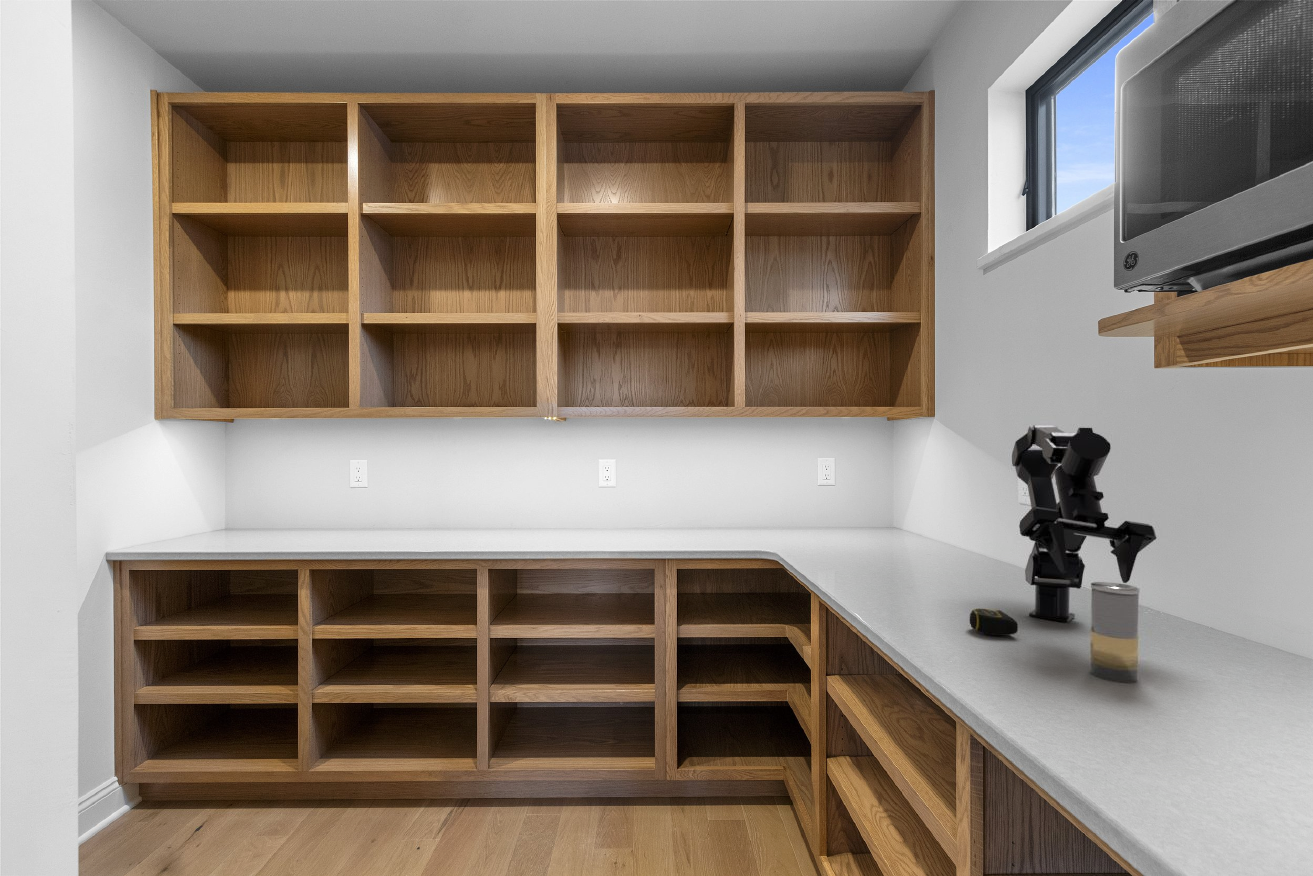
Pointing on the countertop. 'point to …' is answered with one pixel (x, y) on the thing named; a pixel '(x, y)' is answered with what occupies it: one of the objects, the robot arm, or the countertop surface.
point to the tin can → (1114, 631)
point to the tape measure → (992, 622)
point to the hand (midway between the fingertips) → (1095, 576)
